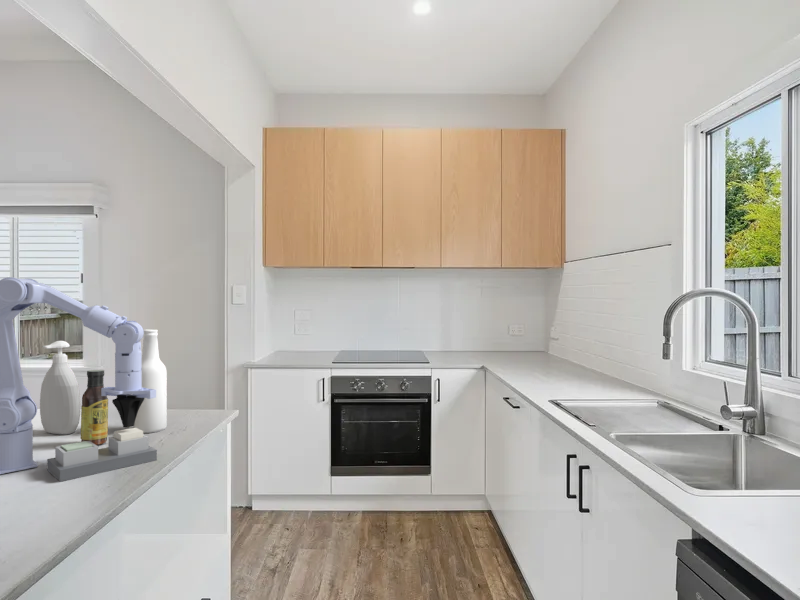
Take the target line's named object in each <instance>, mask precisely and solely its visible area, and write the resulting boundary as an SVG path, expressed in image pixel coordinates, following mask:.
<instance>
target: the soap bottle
mask: <svg viewBox="0 0 800 600" xmlns="http://www.w3.org/2000/svg"><path fill="white" fill-rule="evenodd" d="M69 347H71V346H70V343H68V342H67V341H65V340H56V341H53V342H52V343H50V344H47V345H42V348H43V349H57V353H55V354H53V355H52V364H51V365H50V367H49V369H48V371H47V372H46V373H45V375H44V378H43V379H42V382H41V388H40V395H39V396H40V397H39V413H40V414H39V415H40V422H41V425H42V428H43V430H44V432H46V433H49V434H52V435H71V434H74V433H75V432H76V431H77V429H78V427H79V424H80V421H81V394H80V387H79V386H80V384H79V382H78V379H77V376H76V374H75V372H74V370H72V368H71V367H70V365H69V363H68V355H67V354H66V353H63V348H69Z"/></svg>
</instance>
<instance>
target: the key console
mask: <svg viewBox="0 0 800 600" xmlns="http://www.w3.org/2000/svg"><path fill="white" fill-rule="evenodd" d="M149 438H150V437H149V436H148V435H146V434H145V433H143V437H142V438H136V439H131V440H126V441H121V442H120V441H119V440H117V439H115V438H114V435H113V436H109V437H108V447H103V448H99V445H95V444H94V443H92V442H90V441H87V442H88V443H90V444H92V445H93V447H89V448H84V449H78V450H73V451H68V452H65V451H64V450H63V449H61V445H57V446H55V453H54V454H55V457H50V458H47V459H46V460H47V461H46V462H47V465H46V467H47V468H46V469H47V471H48V473H50V474H51V475H52V476H53V477H54V478H56V479H57V481H59V482H60V483H61V482H66V481H70V480H73V479H74V480H75V479H80V478H83V477H87V476H92V475H96V474H100V473H101V474H102V473H105V472H109V471H115V470H119V469H124V468H127V467H132V466H137V465H141V464H145V463H149V462H156V461H157V458H158V456H157V451H158V449H156V448H154V447H152V446H150V445H149V442H150V441H149V440H150V439H149Z"/></svg>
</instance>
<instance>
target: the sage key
mask: <svg viewBox="0 0 800 600" xmlns="http://www.w3.org/2000/svg"><path fill="white" fill-rule="evenodd" d="M60 446H61V449H63V450H64V451H65V452H68V451H73V450H78V449H84V448H89V447H93V445H92V444H90V443H88V442H87V441H83V442H81V441H79V442H73V443H67V444H62V445H60Z"/></svg>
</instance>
